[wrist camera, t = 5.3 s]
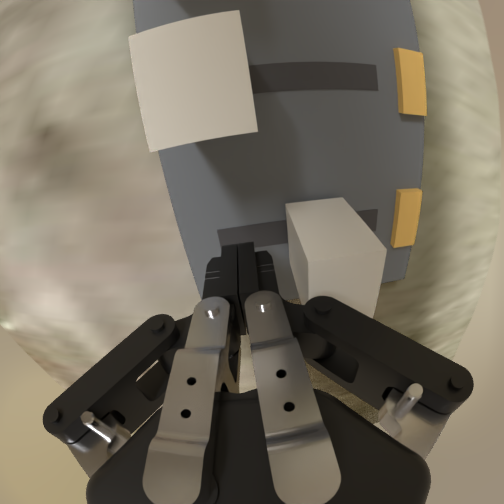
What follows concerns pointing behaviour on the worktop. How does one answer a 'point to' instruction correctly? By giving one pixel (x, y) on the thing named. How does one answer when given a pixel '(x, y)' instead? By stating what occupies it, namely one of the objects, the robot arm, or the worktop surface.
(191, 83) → the slider middle
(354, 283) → the slider
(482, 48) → the worktop surface
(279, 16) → the switch board
